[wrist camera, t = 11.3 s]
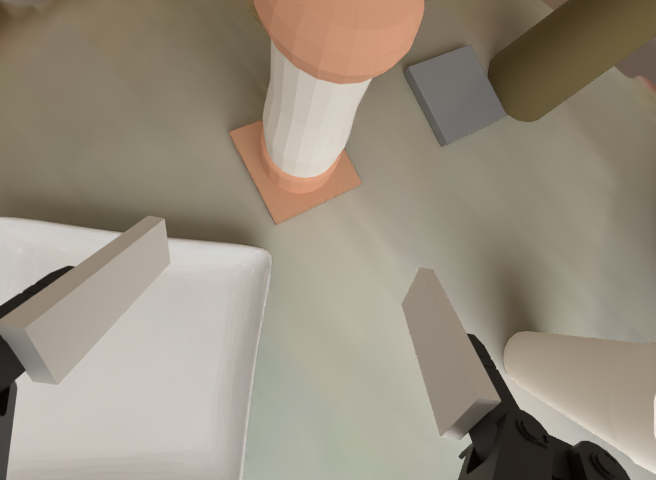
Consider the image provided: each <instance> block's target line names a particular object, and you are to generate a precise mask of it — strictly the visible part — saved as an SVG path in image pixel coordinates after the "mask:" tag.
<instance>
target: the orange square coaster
mask: <svg viewBox="0 0 656 480" xmlns="http://www.w3.org/2000/svg"><path fill="white" fill-rule="evenodd" d="M262 129H263V120H260V121H258V122H255V123H252V124H249V125H246V126H244V127H241V128H238V129H235V130H233V131H230V132H229V134H230V137H231V139H232V141H233V143H234V145H235V147H236V149H237V151H238V153H239V154H240V156H241V158H242V160H243V162H244V164H245V166H246V168H247V170H248V172H249V174H250V176H251V178H252V180H253V182H254V184H255V186H256V188H257V189H258V191H259V193H260V195H261V197H262V199H263V201H264V203H265V205H266V207H267V209H268V211H269V213H270V215H271V217H272V219H273V221H274V223H275V224H276V225H278V224H280V223H282V222H284V221H286V220H288V219H290V218H292V217H294V216H297V215H299V214H301V213H303V212H305V211H307V210H309V209H311V208H313V207H316V206H318V205H320V204H322V203H324V202H326V201H328V200H330V199H332V198H335V197H337V196H339V195H341V194H343V193H345V192H347V191H349V190H351V189H354V188H356V187H358V186H359V185H360V184H361V181H360V179H359V177H358V175H357V173H356V171H355V169H354V167H353V165H352V163H351V161H350V159H349V157H348V155H347V153H346V151H345V149H344V148H343V150H342V151H341V157H340V160H339V162H338V164H337V166H336V168H335V170H334V171H333V173H332V174H331V176H330V178H329V179H328V180H327V181H326V182H325V184H324V185H323V186H322V187H321V188H319V189H317V190H315V191H313V192H310V193H303V194H297V193H291V192H287V191H285V190H283V189H281V188H279V187H278V186H277V185H275V184H274V183H273V182H272V181H271V180H270V179H269V177H268V175H267V174H266V172H265V170H264V168H263V163H262V158H261V146H260V140H261V132H262Z"/></svg>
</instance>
